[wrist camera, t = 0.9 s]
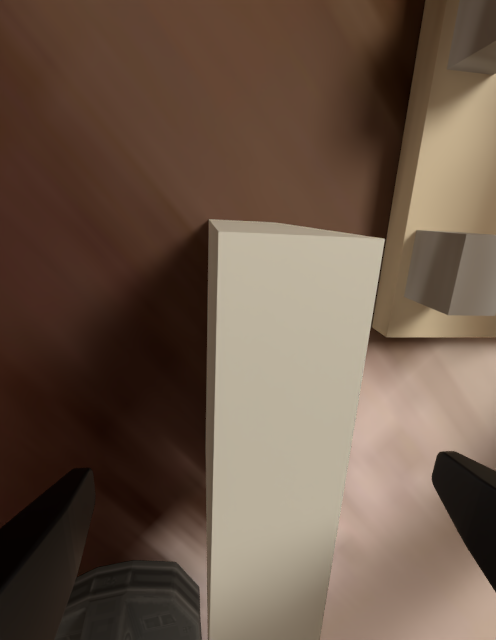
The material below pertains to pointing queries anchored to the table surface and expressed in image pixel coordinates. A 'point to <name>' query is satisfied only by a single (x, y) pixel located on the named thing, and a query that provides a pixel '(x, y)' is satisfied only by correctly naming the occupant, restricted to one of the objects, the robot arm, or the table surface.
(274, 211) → the table surface
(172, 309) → the table surface
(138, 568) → the zipper pull
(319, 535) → the cabinet door panel
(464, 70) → the hinge clip plate
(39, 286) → the table surface
